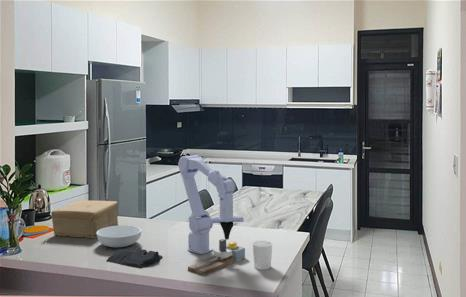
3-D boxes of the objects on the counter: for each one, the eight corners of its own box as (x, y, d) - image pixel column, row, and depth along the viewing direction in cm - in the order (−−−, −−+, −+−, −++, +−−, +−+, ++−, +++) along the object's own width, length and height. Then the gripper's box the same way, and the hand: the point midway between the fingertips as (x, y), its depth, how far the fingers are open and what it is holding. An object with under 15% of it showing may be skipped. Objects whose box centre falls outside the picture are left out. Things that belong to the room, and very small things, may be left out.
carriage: (213, 257, 202) (213, 240, 201) (221, 254, 205) (221, 237, 205) (224, 260, 198) (224, 243, 197) (232, 257, 202) (231, 240, 201)
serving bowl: (131, 253, 214) (130, 238, 213) (88, 250, 218) (88, 236, 217) (148, 239, 234) (148, 225, 233) (109, 237, 238) (108, 224, 238)
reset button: (226, 252, 206) (226, 243, 206) (232, 250, 209) (232, 241, 208) (233, 253, 204) (233, 244, 203) (238, 251, 207) (238, 242, 206)
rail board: (187, 270, 192) (187, 264, 192) (220, 257, 207) (220, 251, 207) (203, 275, 186) (203, 269, 186) (236, 261, 202) (236, 255, 201)
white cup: (270, 263, 199) (270, 240, 198) (273, 270, 191) (273, 246, 190) (252, 263, 199) (252, 240, 198) (253, 270, 191) (253, 246, 190)
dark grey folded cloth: (126, 252, 217) (125, 241, 216) (165, 258, 207) (165, 248, 207) (103, 262, 203) (102, 251, 203) (144, 270, 194) (144, 259, 193)
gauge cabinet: (220, 257, 207) (220, 247, 207) (229, 253, 212) (229, 243, 211) (236, 261, 202) (236, 251, 201) (244, 257, 206) (244, 247, 206)
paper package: (78, 222, 266) (77, 198, 265) (120, 225, 261) (120, 200, 259) (50, 236, 240) (49, 210, 239) (96, 239, 235) (95, 212, 233)
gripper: (210, 211, 196) (211, 242, 197) (244, 209, 199) (245, 240, 200) (208, 207, 203) (209, 237, 204) (241, 205, 205) (241, 235, 207)
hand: (226, 238), depth 203 cm, fingers closed
